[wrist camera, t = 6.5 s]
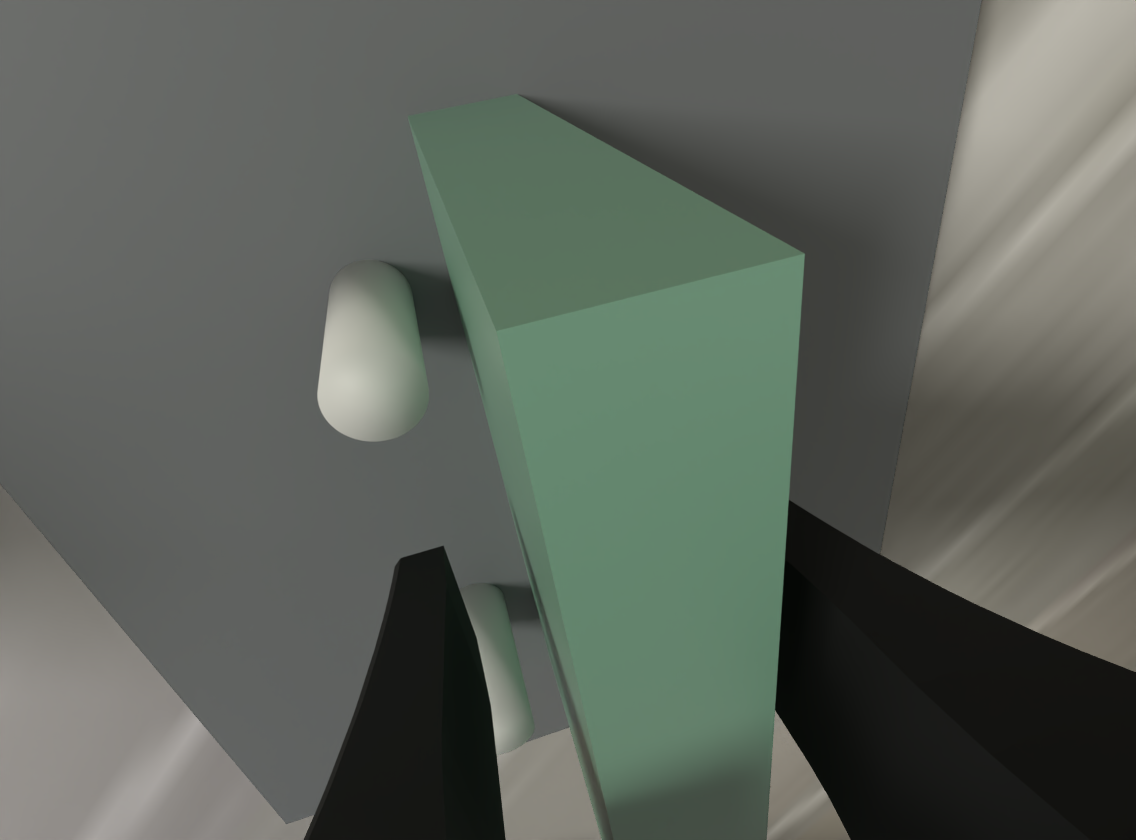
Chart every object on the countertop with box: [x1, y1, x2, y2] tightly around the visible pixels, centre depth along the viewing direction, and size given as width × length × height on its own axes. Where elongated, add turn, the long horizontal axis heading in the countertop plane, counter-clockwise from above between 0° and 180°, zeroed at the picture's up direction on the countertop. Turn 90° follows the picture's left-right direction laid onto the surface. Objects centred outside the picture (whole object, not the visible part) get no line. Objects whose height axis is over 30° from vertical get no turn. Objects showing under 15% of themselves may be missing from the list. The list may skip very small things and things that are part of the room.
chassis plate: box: [0, 0, 982, 824], centre depth 11 cm, size 18×16×4 cm
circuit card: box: [408, 94, 805, 840], centre depth 9 cm, size 12×2×7 cm, turn 9°
